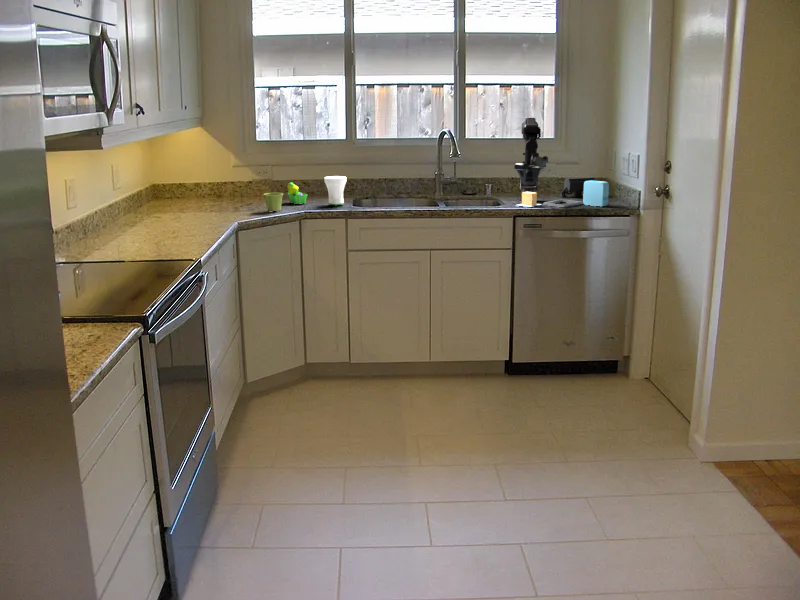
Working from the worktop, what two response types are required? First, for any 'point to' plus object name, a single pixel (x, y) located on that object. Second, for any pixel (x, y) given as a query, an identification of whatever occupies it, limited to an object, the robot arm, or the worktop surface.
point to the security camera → (574, 186)
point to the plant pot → (273, 201)
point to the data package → (596, 193)
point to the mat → (528, 205)
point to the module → (529, 198)
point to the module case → (571, 202)
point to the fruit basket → (296, 194)
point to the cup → (335, 189)
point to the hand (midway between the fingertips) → (529, 182)
